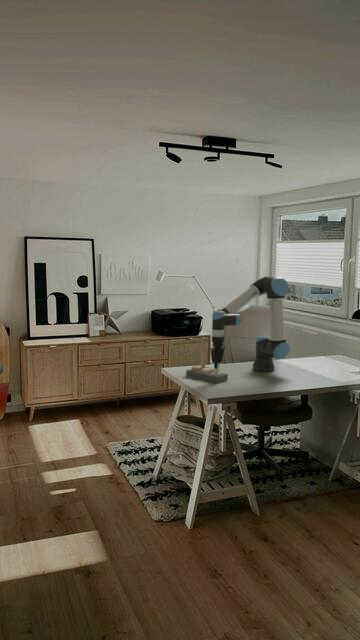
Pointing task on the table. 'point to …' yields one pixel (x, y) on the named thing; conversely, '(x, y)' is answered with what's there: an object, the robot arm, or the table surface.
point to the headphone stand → (203, 353)
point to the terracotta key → (197, 368)
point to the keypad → (207, 376)
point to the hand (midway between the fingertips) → (216, 373)
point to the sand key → (206, 370)
